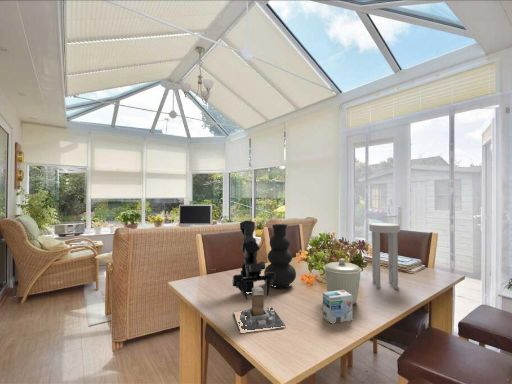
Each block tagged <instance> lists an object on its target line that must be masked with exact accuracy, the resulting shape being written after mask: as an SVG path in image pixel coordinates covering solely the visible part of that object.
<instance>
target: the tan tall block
mask: <svg viewBox="0 0 512 384" xmlns="http://www.w3.org/2000/svg"><path fill="white" fill-rule="evenodd" d="M264 297H265V296H264V289H263V288H262V287H254V288H252V294H251V308H252V316H256V315H264V305H265V304H264V303H265V302H264Z"/></svg>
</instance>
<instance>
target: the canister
mask: <svg viewBox="0 0 512 384" xmlns="http://www.w3.org/2000/svg"><path fill="white" fill-rule="evenodd" d="M346 261H347V260H346V259H345V258H338V261H332V262H327V263H326V264H325V265H323V266H322V269H324V275H325V285H326V292H330V291H339V290H345V291H346V292H348V293H349V294H351V295H352V306H353V305H355V303H357V301H358V299H359V298H358V297H359V288H360V281H361V273H362V271H363V269H362V268H361V267H360V266H358V265H357V264H354V263H351V262H346Z"/></svg>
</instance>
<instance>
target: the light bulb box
mask: <svg viewBox="0 0 512 384" xmlns="http://www.w3.org/2000/svg"><path fill="white" fill-rule="evenodd" d="M322 318H323V319H325V320H326V319H327V320H328V321H329V322H330V323H332V324H335V323H334V322H340V323H343V322H342V321H347V322H351V321H350V320H352V321H353V305H352V295H351V294H349V293H348V292H346V291H345V290H339V291H330V292H327V291H323V292H322ZM327 320H326V321H327ZM328 321H327V322H328ZM329 322H328V323H329ZM330 323H329V324H330Z"/></svg>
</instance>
